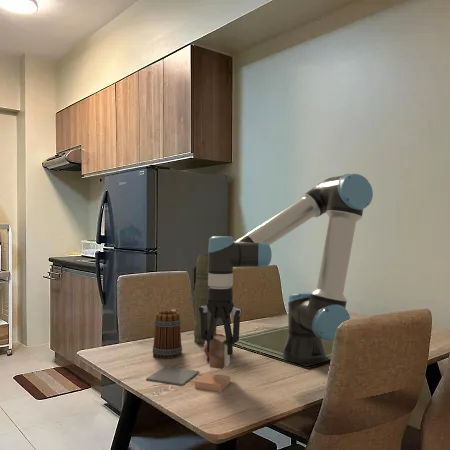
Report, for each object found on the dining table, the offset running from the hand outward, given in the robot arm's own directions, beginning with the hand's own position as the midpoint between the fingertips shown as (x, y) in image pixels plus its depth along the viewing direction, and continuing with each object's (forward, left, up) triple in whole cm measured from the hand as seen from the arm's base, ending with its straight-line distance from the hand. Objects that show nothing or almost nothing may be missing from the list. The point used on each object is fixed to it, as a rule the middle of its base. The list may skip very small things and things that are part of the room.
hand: (219, 364), depth 132 cm
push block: (0, 0, 0) cm, 0 cm away
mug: (+27, -19, -5) cm, 33 cm away
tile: (0, +1, -4) cm, 4 cm away
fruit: (+9, -20, -5) cm, 22 cm away
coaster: (+14, +3, -5) cm, 15 cm away
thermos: (+21, -38, -5) cm, 44 cm away
